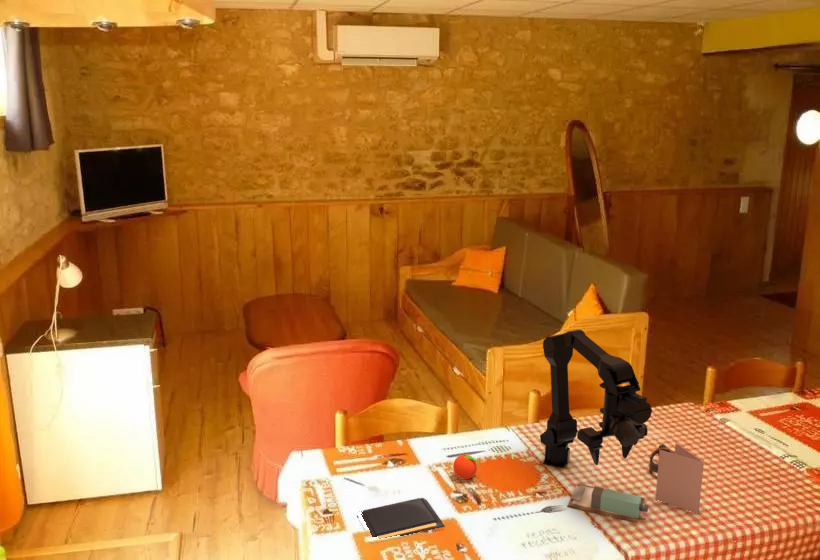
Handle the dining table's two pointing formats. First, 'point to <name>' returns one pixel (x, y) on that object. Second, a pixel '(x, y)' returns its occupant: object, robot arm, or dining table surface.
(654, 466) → the pottery mug
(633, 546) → the dining table surface
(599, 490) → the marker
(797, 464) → the dining table surface
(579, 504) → the clipboard
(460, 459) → the clementine
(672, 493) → the greeting card
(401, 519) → the black notebook
